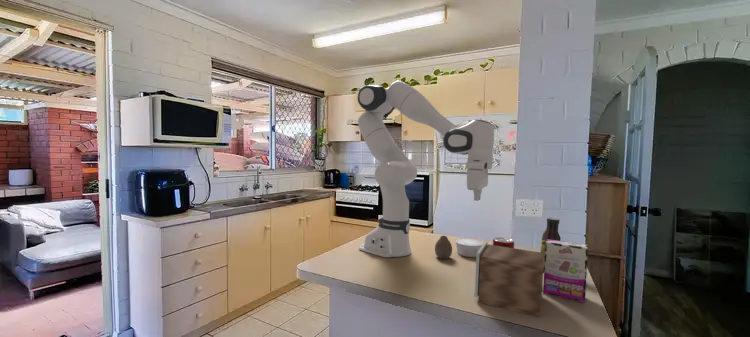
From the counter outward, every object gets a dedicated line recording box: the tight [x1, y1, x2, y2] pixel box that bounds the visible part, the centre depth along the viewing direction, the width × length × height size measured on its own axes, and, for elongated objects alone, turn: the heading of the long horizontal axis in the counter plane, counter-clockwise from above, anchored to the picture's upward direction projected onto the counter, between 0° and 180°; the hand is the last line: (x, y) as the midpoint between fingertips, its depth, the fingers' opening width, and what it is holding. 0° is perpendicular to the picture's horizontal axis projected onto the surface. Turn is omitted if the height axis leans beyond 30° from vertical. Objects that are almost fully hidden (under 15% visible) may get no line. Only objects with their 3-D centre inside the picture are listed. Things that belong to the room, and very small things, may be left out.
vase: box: [434, 235, 453, 260], centre depth 131 cm, size 7×7×9 cm
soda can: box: [492, 236, 515, 248], centre depth 117 cm, size 7×7×12 cm
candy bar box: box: [542, 239, 589, 303], centre depth 99 cm, size 11×5×16 cm, turn 58°
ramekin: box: [455, 238, 484, 258], centre depth 137 cm, size 11×11×5 cm
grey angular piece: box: [474, 241, 489, 298], centre depth 96 cm, size 15×14×13 cm
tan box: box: [477, 244, 544, 318], centre depth 95 cm, size 16×14×14 cm
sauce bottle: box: [539, 217, 562, 272], centre depth 119 cm, size 7×6×20 cm
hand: (477, 200), depth 121 cm, fingers closed
